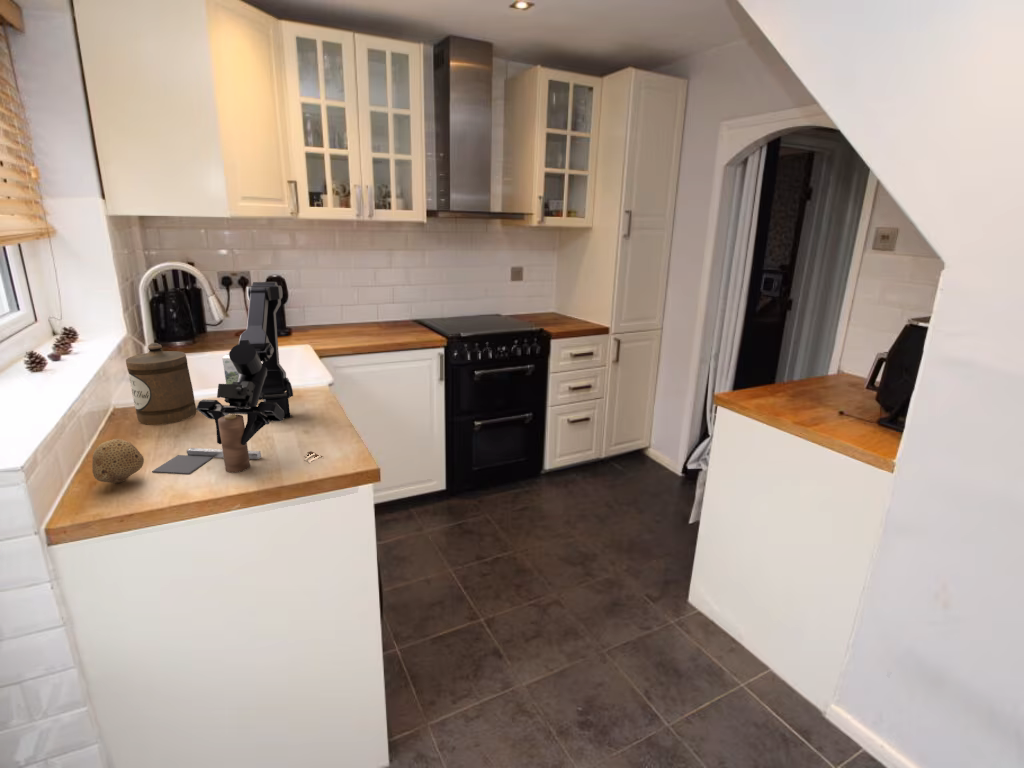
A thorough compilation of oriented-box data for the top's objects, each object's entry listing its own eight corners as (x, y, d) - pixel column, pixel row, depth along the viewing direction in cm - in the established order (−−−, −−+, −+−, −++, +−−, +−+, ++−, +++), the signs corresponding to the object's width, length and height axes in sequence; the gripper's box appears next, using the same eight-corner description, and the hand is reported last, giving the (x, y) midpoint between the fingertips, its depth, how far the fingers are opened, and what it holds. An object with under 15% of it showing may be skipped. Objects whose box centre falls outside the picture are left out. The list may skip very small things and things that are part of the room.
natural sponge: (154, 471, 124) (146, 431, 121) (134, 490, 116) (125, 447, 113) (111, 473, 123) (102, 433, 120) (88, 492, 114) (77, 449, 112)
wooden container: (136, 414, 160) (121, 341, 154) (192, 404, 169) (181, 336, 162) (139, 429, 149) (123, 352, 142) (200, 418, 157) (188, 345, 151)
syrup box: (252, 394, 179) (247, 352, 174) (246, 400, 173) (240, 356, 169) (234, 395, 178) (228, 352, 174) (227, 401, 172) (221, 357, 168)
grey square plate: (213, 457, 132) (213, 456, 132) (189, 474, 123) (189, 473, 123) (178, 456, 132) (178, 454, 132) (152, 472, 124) (152, 471, 124)
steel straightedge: (261, 456, 133) (260, 451, 132) (257, 459, 131) (257, 453, 131) (191, 453, 134) (190, 447, 134) (187, 456, 133) (186, 450, 132)
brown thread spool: (247, 461, 130) (240, 410, 127) (252, 468, 126) (245, 416, 123) (223, 466, 127) (215, 415, 124) (228, 474, 123) (219, 421, 120)
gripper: (194, 366, 124) (170, 428, 117) (273, 369, 123) (254, 431, 116) (219, 389, 134) (198, 447, 127) (292, 391, 133) (275, 450, 126)
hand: (230, 444), depth 124 cm, fingers closed on brown thread spool, 5 cm apart
